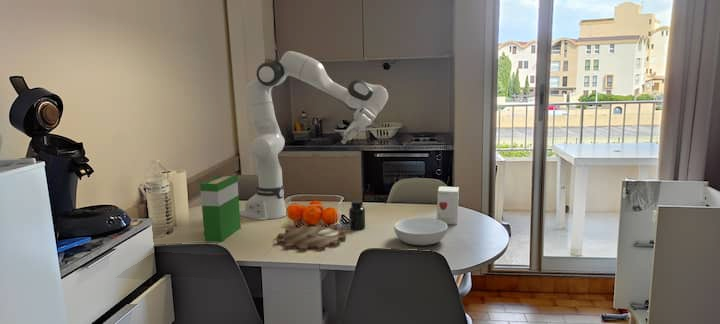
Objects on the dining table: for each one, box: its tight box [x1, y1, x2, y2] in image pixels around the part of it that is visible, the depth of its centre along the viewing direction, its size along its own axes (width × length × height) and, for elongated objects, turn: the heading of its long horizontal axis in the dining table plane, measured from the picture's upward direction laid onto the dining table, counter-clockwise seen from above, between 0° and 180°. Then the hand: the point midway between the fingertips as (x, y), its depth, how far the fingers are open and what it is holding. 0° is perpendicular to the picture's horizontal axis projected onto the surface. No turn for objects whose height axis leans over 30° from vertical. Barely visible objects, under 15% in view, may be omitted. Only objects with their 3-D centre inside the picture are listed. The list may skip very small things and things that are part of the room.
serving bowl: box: [393, 217, 449, 246], centre depth 194 cm, size 21×21×7 cm
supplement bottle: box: [348, 199, 366, 231], centre depth 211 cm, size 7×7×12 cm
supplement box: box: [436, 186, 460, 225], centre depth 218 cm, size 9×9×15 cm
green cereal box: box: [199, 173, 242, 243], centre depth 205 cm, size 18×7×24 cm, turn 168°
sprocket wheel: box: [276, 224, 347, 253], centre depth 200 cm, size 28×28×2 cm
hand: (345, 141), depth 212 cm, fingers open, 8 cm apart
